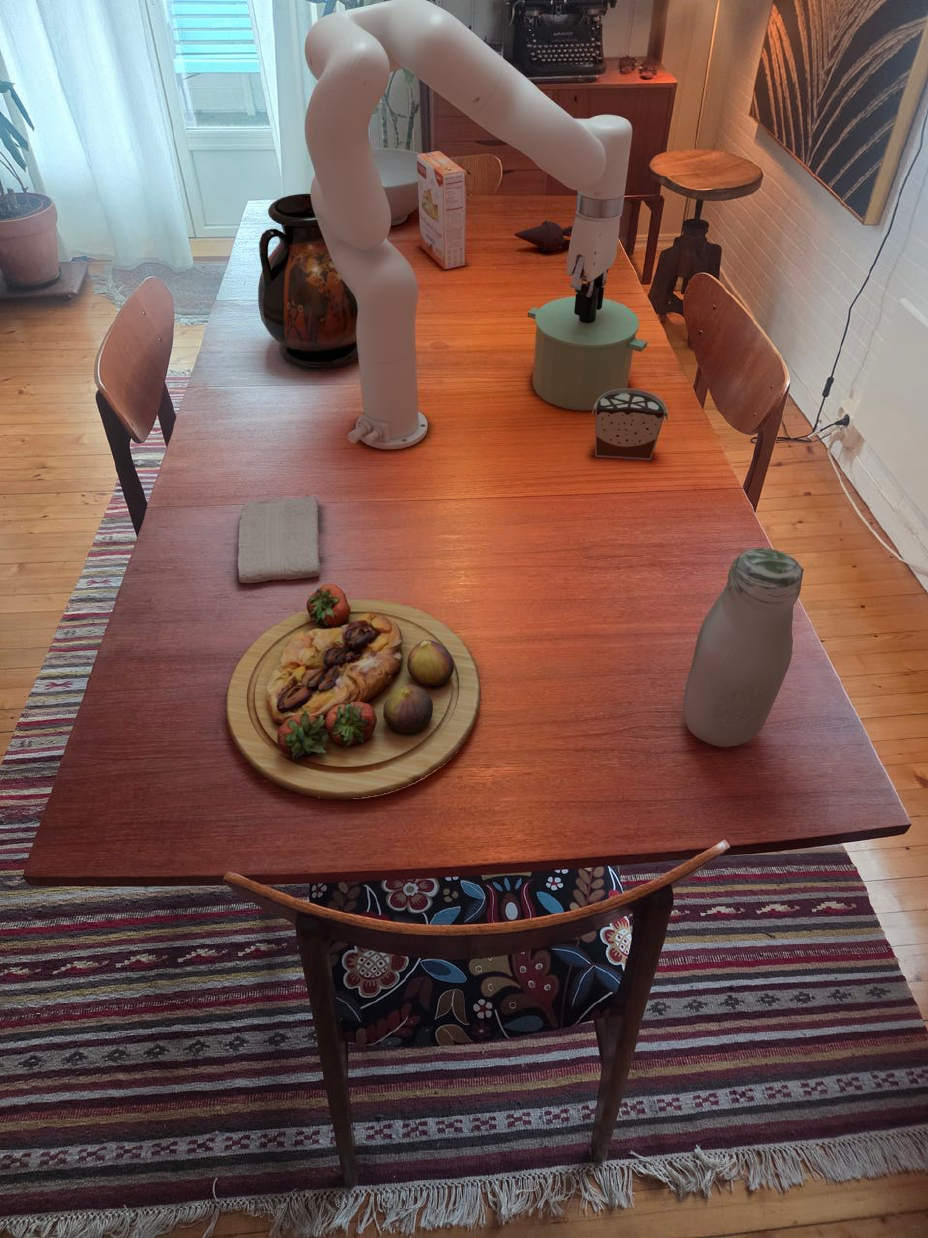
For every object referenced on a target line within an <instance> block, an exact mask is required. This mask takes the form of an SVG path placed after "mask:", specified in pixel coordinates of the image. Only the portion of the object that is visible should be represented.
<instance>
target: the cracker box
mask: <svg viewBox="0 0 928 1238" xmlns="http://www.w3.org/2000/svg"><path fill="white" fill-rule="evenodd" d="M417 169H418V194H419V206H418V215H419V216H418V217H419V219H418V220H419V241H420V242H419V243H420V244H419V245H420V248H421V249H422V250H423V251H424V252H425V253H427V255H428V256H430V258H431V259H433V261H434V262H435V263H437V264H438V266H440V268H441V269H442V270H443V271H447V270H452V269H455V268H461V267H465V266H467V245H466V244H467V241H466V240H467V234H466V233H467V232H466V231H467V230H466V229H467V220H466V219H467V215H466V214H467V213H466V212H467V210H466V208H467V205H466V203H467V197H466V196H467V195H466V194H467V190H466V188H467V187H466V186H467V185H466V184H467V183H466V182H467V175H466V173H467V172H466V170H465V169H463V168H462V167H461V166H460V165H459V164H457V163H456V162H454V161H453V160H452V159H450V158H449V157H448V156H447V155H445V154H444V153H443V152H442V151H441V150H436V151H429V152H422V153H420V154H418V155H417Z"/></svg>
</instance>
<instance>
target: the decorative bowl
mask: <svg viewBox="0 0 928 1238" xmlns="http://www.w3.org/2000/svg"><path fill="white" fill-rule="evenodd" d="M371 148H372V152H373V156H374V160H375V163H376V166H377V169H378V172H379V176H380V179H381V182H382V185H383V188H384V191H385V194H386V196H387V199H388V202H389V206H390V211H391V226H390V227H393V226H397V225H400V224H402V223H403V222H406V220H407V219H408V215H410V214H412V213H413V212H414V211H415V210H417V209H418V208H419V194H418V169H417V155H418V154H421V153H420V152H417V151H413V150H409V149H404V148H395V147H371Z"/></svg>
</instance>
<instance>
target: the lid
mask: <svg viewBox="0 0 928 1238" xmlns="http://www.w3.org/2000/svg"><path fill="white" fill-rule="evenodd" d="M584 284H586V286H588V282H586V283H584ZM592 295H593V296H594V300H593V308H592V316H591V317H590V318H585V317H582V316H579V315H576V314H575V313H574V308H575V298H576V295H574V296H565V297H561V298H560V297H559V298H557V299H553V300H551V301H549V302H546V303H545V304H543V305H541V306H540V308H539V310H538V311H537V313H536V316H535V319H534V323H535V327H536V326H537V328H538V330H539V331H540V332H541V333H542V334H544V335H545V336H546V337H548V338H550V339H552V340H554V341H556V342H559V343H562V344H565V345H570V346H575V347H583V348H602V347H609V346H614V345H618V344H621V343H623V342H626V341H628V340H629V339H631V338H632V337H633V336H634V335H635V334H636V335H637V333H638V331H639V328H640V320H639V317H638V316H637V314H636V313H635V312H634V311H633V310H632V309H631V308H630V307H628V306H626V305H624V304H622V303H620V302H618V301H615V300H611V299H607V298H604V297H603V303H602V308H601V309H600V310H597V303H598V295H599V286H598V285H597V284H593V291H592Z"/></svg>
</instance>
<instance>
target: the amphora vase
mask: <svg viewBox="0 0 928 1238" xmlns="http://www.w3.org/2000/svg"><path fill="white" fill-rule="evenodd" d="M267 214H268V217H269V218H270V219H271V221H273V222H275V223H276V224H279V225H281V229H282V231H281V230H280V229H278V228H269V229H266V230H265V231H263V233H262V234H261V236H260V238H259V242H258V250H259V251H258V252H259V253H258V254H259V259H260V264H261V265H260V266H261V273H260V276H259V281H258V286H257V304H258V311H259V315H260V319H261V322H262V324H263V325H264V327H265V329H266V330H267V332H268V333H269V334H270V335H271V337H272V338H274V340H275V341H276V342H278V343H279V345H278V351H279V352H278V353H279V355H280V357H281V358H282V359H283V361H285V362H286V363H288V364H289V365H291V366H292V367H296V368H298V369H302V370H308V371H328V370H334V369H337V368H342V367H344V366H346V365H348V364H351V363H352V362H354V361H355V360H357V358H358V350H357V339H356V324H357V315H358V306H357V301H356V298H355V296H354V295H353V293H352V292H351V291H350V289H349V288H348V286H347V285H346V284H345V283H344V281H343V280H342V279H341V277H340V276H339V274H338V272H337V270H336V268H335V266H334V264H333V261H332V259H331V256H330V253H329V251H328V248H327V246H326V243H325V240H324V238H323V235H322V232H321V230H320V227H319V224H318V222H317V219H316V216H315V213H314V210H313V207H312V202H311V193H295V194H289V195H286V196H283V197H281V198H279V199H276V200H275V201H274V202H272V203H271V204H270V205H269V207H268V209H267ZM273 238H278V240H279V243H278V244H277V245H276V247H275V248H274V249H273V250H272V252H271V253H270V255H269V245H270V241H271V240H272V239H273Z"/></svg>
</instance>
